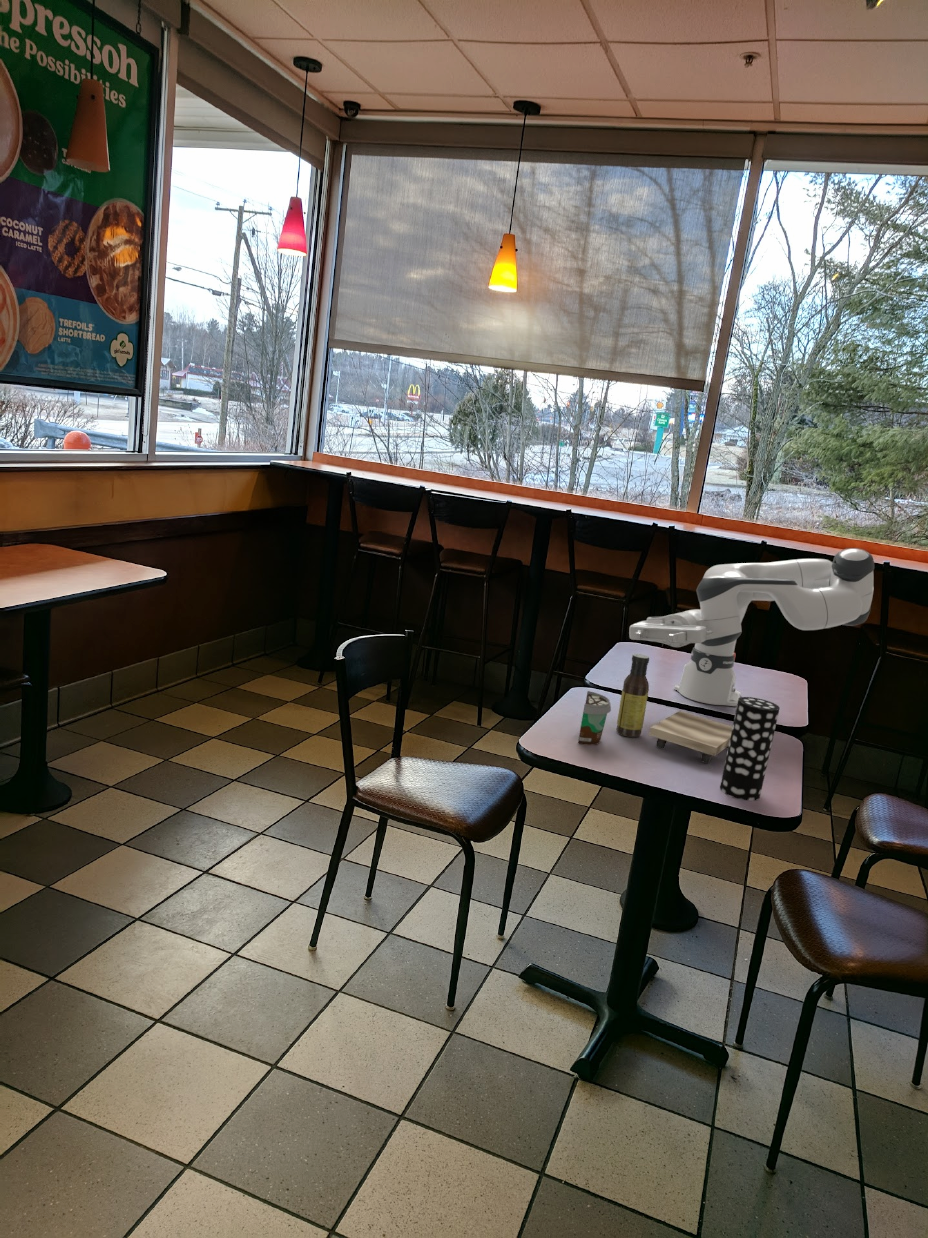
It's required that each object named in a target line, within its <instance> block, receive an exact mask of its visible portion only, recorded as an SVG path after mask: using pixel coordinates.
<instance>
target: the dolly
mask: <svg viewBox="0 0 928 1238" xmlns="http://www.w3.org/2000/svg"><path fill="white" fill-rule="evenodd" d="M732 728H733V725H730V724H727V723H726V724H725V723H723V722H720V721H715V720H713V719H710V718H706V717H703V716H699V715H695V714H692V713H689V712H685V711H682V710H679V711H677V712H674V713H673V714H671V715H669V716H667V717H666V718H664V719H662V720H661V721H659V722H657V723H655V724H653V725H652V726H650V727H649V733H648V735H649V736H651V737H653V738H656V743H655V744H656V745H655V747H656V748H660V749H661V750H662V749H664V748H665V747H666V745H667V742H670V743H671V744H676V745H680V746H682V747H684V748H685V747H686V748H688V749H692V750H694V751H697V752H701V757H700V761H701V762H702V763H704V764H709V763H710V761H711V758H712V756H714V757H715V756H717V755H718V754H720V753H721V752H722V751H724V750H725V749H728V747H729V742H730V737H731V732H732Z"/></svg>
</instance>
